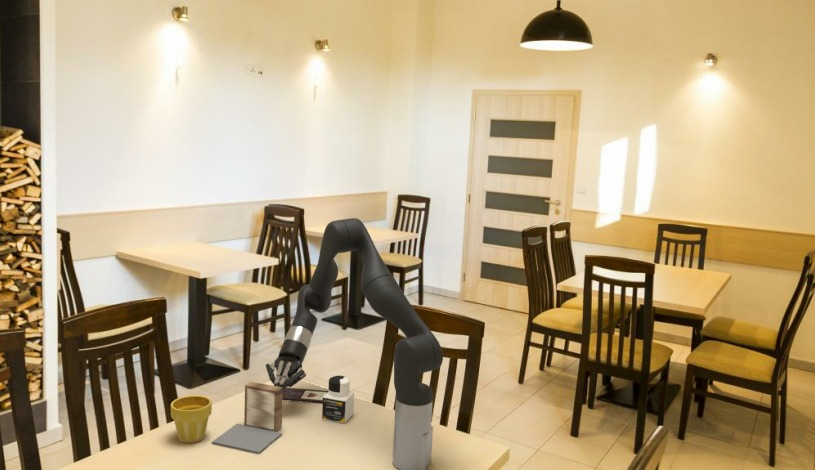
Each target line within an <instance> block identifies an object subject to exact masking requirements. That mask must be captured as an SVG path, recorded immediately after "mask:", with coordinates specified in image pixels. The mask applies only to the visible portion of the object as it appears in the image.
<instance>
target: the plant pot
mask: <svg viewBox="0 0 815 470" xmlns="http://www.w3.org/2000/svg"><path fill="white" fill-rule="evenodd" d="M212 406H213V405H212V400H211V398H210V397H208V396H204V395H197V394H196V395H193V394H192V395H186V396H182V397H181V396H180V397H179V398H176V399H174V400H173V401H172V402H171V403H170V416H171V419H172V420H173V421H174V424H175V430H176V433H177V434H176V435H177V436H178V440H179V441H181V442H182V443H187V444H189V443H192V444H193V443H197V442H200V441H202V440H203V439H204V438H205V437H206V431H207V428H208V427H207V426H208V423H209V422H208V421H209V417H210V416H211V415H212V410H213V409H212V408H213V407H212Z"/></svg>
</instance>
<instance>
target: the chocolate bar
mask: <svg viewBox="0 0 815 470" xmlns="http://www.w3.org/2000/svg"><path fill="white" fill-rule="evenodd" d="M328 392H329V391H328V390H322V389H321V390H320V389H312V388H311V389H309V388H308V389H307V388H297V387H286V388H285V389H284V391H283V399H282V401H287V400H291V402H299V401H302V403H311V402H312V404H313V403H314V404H323V396H324V395H325V394H327V393H328Z"/></svg>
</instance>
